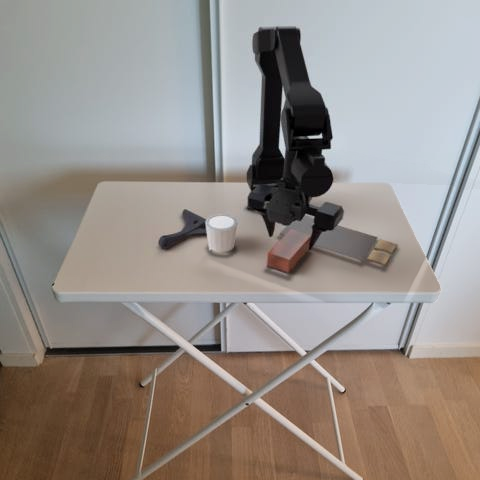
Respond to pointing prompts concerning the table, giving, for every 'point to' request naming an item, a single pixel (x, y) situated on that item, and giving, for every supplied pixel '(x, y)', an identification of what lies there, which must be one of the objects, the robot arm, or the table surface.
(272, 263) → the reddish orange block
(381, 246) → the cork bit
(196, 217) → the bracket
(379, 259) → the cork bit
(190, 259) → the table surface
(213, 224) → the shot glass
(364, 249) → the board
